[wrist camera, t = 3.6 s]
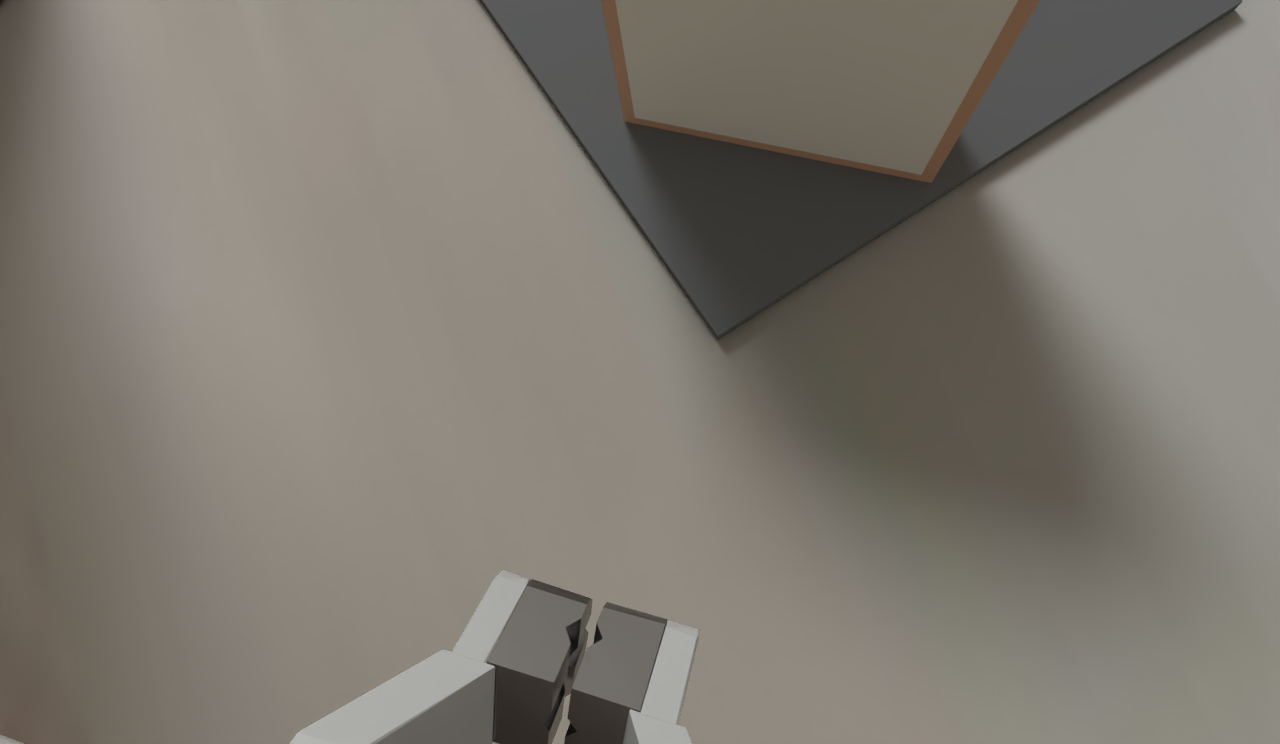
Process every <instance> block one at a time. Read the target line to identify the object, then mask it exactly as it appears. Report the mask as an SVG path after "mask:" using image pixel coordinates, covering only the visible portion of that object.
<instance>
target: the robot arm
mask: <svg viewBox="0 0 1280 744" xmlns="http://www.w3.org/2000/svg"><path fill="white" fill-rule="evenodd" d="M591 610H592V599H591V598H588V597H585V596H582V595H579V594H576V593H573V592H570V591H566V590H563V589H560V588H557V587H554V586H551V585H548V584H545V583H542V582H539V581H536V580H533V579H530V578H526V577H523V576H520V575H517V574H514V573H511V572H507V571H504V570H502V571H501V572H500V573H499V574H498V575H497V576H496V577H495V578H494V580H493V581H492V583H491V585H490V586H489V588H488V590H487V592H486V593H485V595H484V597H483V599H482V600H481V602H480V604H479V605H478V607H477V609H476V611H475V612H474V614H473V616H472V618H471V619H470V621H469V623H468V624H467V626H466V628H465V630H464V631H463V633H462V635H461V637H460V638H459V640H458V642H457V643H456V645H455V647H454V649H453V650H452V652H451V651H447V650H444V649H442V650H441V651H439V652H437V653H435V654H434V655H432V656H430V657H428V658H427V659H425V660H423V661H421V662H420V663H418V664H416V665H414V666H413V667H411V668H409V669H407V670H406V671H404V672H402V673H400V674H399V675H397V676H395V677H393V678H392V679H390V680H388V681H386V682H385V683H383V684H381V685H379V686H378V687H376V688H374V689H372V690H371V691H369V692H367V693H365V694H364V695H362V696H360V697H358V698H357V699H355V700H353V701H351V702H350V703H348V704H346V705H344V706H343V707H341V708H339V709H337V710H336V711H334V712H332V713H330V714H329V715H327V716H325V717H323V718H322V719H320V720H318V721H316V722H315V723H313V724H311V725H309V726H308V727H306V728H304V729H302V730H301V731H299V732H298V733H297V734H296V735H295V737H294V738H293V740H292V741H291V742H290V744H492V742H496V743H499V744H552V742H553V739H554V737H555V734H556V732H557V729H558V727H559V724H560V721H561V719H562V713H563V705H564V698H565V697H566V696H567V695H569V694H570V693H571V697H570V704H569V711H568V719H569V721H570V725H569V728H568V730H567V733H566V736H565V742H564V744H693V742H692V739H691V736H690V733H689V731H688V728H686V727H683V726H680V725H678V723H679V719H680V715H681V710H682V706H683V702H684V698H685V694H686V689H687V685H688V681H689V677H690V672H691V668H692V664H693V660H694V656H695V651H696V647H697V643H698V639H699V631H700V630H699V629H695V628H692V627H689V626H685V625H682V624H679V623H675V622H672V621H669V620H668V622H667V619H664V618H661V617H657V616H654V615H650V614H647V613H643V612H640V611H636V610H633V609H629V608H626V607H622V606H619V605H615V604H612V603H608V602H607V603H606V604H605V605H604V607H603V609H602V611H601V614H600V616H599V619H598V621H597V625H596V631H595V638H594V644H593V645H592V646H590V647H589V648H587V649H586V645H587V639H588V632H587V630H586V625H587V623H588V620H589V618H590V615H591ZM585 649H586V652H585ZM584 654H585V655H584ZM0 744H25V743H22V742H19V741H17V740H14V739H11V738H9V737H6V736H3V735H1V734H0Z"/></svg>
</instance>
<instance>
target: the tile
mask: <svg viewBox="0 0 1280 744" xmlns="http://www.w3.org/2000/svg"><path fill="white" fill-rule="evenodd" d="M1039 1H1040V0H601V3H602V8H603V13H604V18H605V23H606V29H607V34H608V39H609V44H610V49H611V55H612V60H613V65H614V70H615V75H616V81H617V86H618V91H619V96H620V101H621V107H622V112H623V117H624V121H625V122H630V123H635V124H640V125H645V126H650V127H655V128H660V129H664V130H669V131H674V132H679V133H684V134H689V135H694V136H699V137H704V138H709V139H714V140H719V141H724V142H729V143H734V144H739V145H744V146H749V147H754V148H759V149H764V150H769V151H774V152H779V153H784V154H789V155H794V156H799V157H804V158H809V159H814V160H819V161H824V162H829V163H834V164H839V165H844V166H849V167H854V168H859V169H864V170H869V171H874V172H879V173H884V174H889V175H894V176H899V177H904V178H909V179H914V180H918V181H923V182H928V183H932V181H933V180H934V178H935V176H936V175H937V173H938V171H939V170H940V168H941V166H942V165H943V163H944V161H945V160H946V158H947V156H948V155H949V153H950V151H951V149H952V148H953V146H954V144H955V143H956V141H957V139H958V138H959V136H960V134H961V133H962V131H963V129H964V128H965V126H966V124H967V123H968V121H969V119H970V117H971V116H972V114H973V112H974V111H975V109H976V107H977V106H978V104H979V102H980V101H981V99H982V97H983V96H984V94H985V92H986V91H987V89H988V87H989V85H990V84H991V82H992V80H993V79H994V77H995V75H996V74H997V72H998V70H999V69H1000V67H1001V65H1002V64H1003V62H1004V60H1005V59H1006V57H1007V55H1008V53H1009V52H1010V50H1011V48H1012V47H1013V45H1014V43H1015V42H1016V40H1017V38H1018V37H1019V35H1020V33H1021V32H1022V30H1023V28H1024V27H1025V25H1026V23H1027V21H1028V20H1029V18H1030V16H1031V15H1032V13H1033V11H1034V10H1035V8H1036V6H1037V5H1038V3H1039Z"/></svg>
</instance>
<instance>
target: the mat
mask: <svg viewBox="0 0 1280 744" xmlns="http://www.w3.org/2000/svg"><path fill="white" fill-rule="evenodd" d="M481 2H482V3H483V5H484V6H485V8H486V9H487V10H488V12H489V13H490V15H491V16H492V18H493V19H494V20H495V22H496V23H497V25H498V26H499V28H500V29H501V30H502V32H503V33H504V35H505V36H506V38H507V39H508V40H509V42H510V43H511V45H512V46H513V48H514V49H515V50H516V52H517V53H518V55H519V56H520V58H521V59H522V60H523V62H524V63H525V65H526V66H527V68H528V69H529V70H530V72H531V73H532V75H533V76H534V78H535V79H536V80H537V82H538V83H539V85H540V86H541V88H542V89H543V90H544V92H545V93H546V95H547V96H548V98H549V99H550V100H551V102H552V103H553V105H554V106H555V108H556V109H557V110H558V112H559V113H560V115H561V116H562V118H563V119H564V120H565V122H566V123H567V125H568V126H569V128H570V129H571V130H572V132H573V133H574V135H575V136H576V138H577V139H578V140H579V142H580V143H581V145H582V146H583V148H584V149H585V150H586V152H587V153H588V155H589V156H590V158H591V159H592V160H593V162H594V163H595V165H596V166H597V168H598V169H599V170H600V172H601V173H602V175H603V176H604V177H605V179H606V180H607V182H608V183H609V185H610V186H611V187H612V189H613V190H614V192H615V193H616V195H617V196H618V197H619V199H620V200H621V202H622V203H623V205H624V206H625V207H626V209H627V210H628V212H629V213H630V215H631V216H632V217H633V219H634V220H635V222H636V223H637V225H638V226H639V227H640V229H641V230H642V232H643V233H644V235H645V236H646V237H647V239H648V240H649V242H650V243H651V245H652V246H653V247H654V249H655V250H656V252H657V253H658V255H659V256H660V257H661V259H662V260H663V262H664V263H665V265H666V266H667V267H668V269H669V270H670V272H671V273H672V275H673V276H674V277H675V279H676V280H677V282H678V283H679V285H680V286H681V287H682V289H683V290H684V292H685V293H686V295H687V296H688V297H689V299H690V300H691V302H692V303H693V305H694V306H695V307H696V309H697V310H698V312H699V313H700V315H701V316H702V317H703V319H704V320H705V322H706V323H707V325H708V326H709V327H710V329H711V330H712V332H713V333H714V335H715V336H716V337H717V339H719V338H720V337H722V336H723V335H725V334H727V333H728V332H730V331H731V330H733V329H734V328H736V327H738V326H739V325H741V324H742V323H744V322H745V321H747V320H749V319H750V318H752V317H753V316H755V315H756V314H758V313H760V312H761V311H763V310H764V309H766V308H767V307H769V306H770V305H772V304H774V303H775V302H777V301H778V300H780V299H781V298H783V297H785V296H786V295H788V294H789V293H791V292H792V291H794V290H796V289H797V288H799V287H800V286H802V285H803V284H805V283H807V282H808V281H810V280H811V279H813V278H814V277H816V276H817V275H819V274H821V273H822V272H824V271H825V270H827V269H828V268H830V267H832V266H833V265H835V264H836V263H838V262H839V261H841V260H843V259H844V258H846V257H847V256H849V255H850V254H852V253H853V252H855V251H857V250H858V249H860V248H861V247H863V246H864V245H866V244H868V243H869V242H871V241H872V240H874V239H875V238H877V237H879V236H880V235H882V234H883V233H885V232H886V231H888V230H890V229H891V228H893V227H894V226H896V225H897V224H899V223H900V222H902V221H904V220H905V219H907V218H908V217H910V216H911V215H913V214H915V213H916V212H918V211H919V210H921V209H922V208H924V207H926V206H927V205H929V204H930V203H932V202H933V201H935V200H937V199H938V198H940V197H941V196H943V195H944V194H946V193H947V192H949V191H951V190H952V189H954V188H955V187H957V186H958V185H960V184H962V183H963V182H965V181H966V180H968V179H969V178H971V177H973V176H974V175H976V174H977V173H979V172H980V171H982V170H984V169H985V168H987V167H988V166H990V165H991V164H993V163H994V162H996V161H998V160H999V159H1001V158H1002V157H1004V156H1005V155H1007V154H1009V153H1010V152H1012V151H1013V150H1015V149H1016V148H1018V147H1020V146H1021V145H1023V144H1024V143H1026V142H1027V141H1029V140H1031V139H1032V138H1034V137H1035V136H1037V135H1038V134H1040V133H1041V132H1043V131H1045V130H1046V129H1048V128H1049V127H1051V126H1052V125H1054V124H1056V123H1057V122H1059V121H1060V120H1062V119H1063V118H1065V117H1067V116H1068V115H1070V114H1071V113H1073V112H1074V111H1076V110H1078V109H1079V108H1081V107H1082V106H1084V105H1085V104H1087V103H1088V102H1090V101H1092V100H1093V99H1095V98H1096V97H1098V96H1099V95H1101V94H1103V93H1104V92H1106V91H1107V90H1109V89H1110V88H1112V87H1114V86H1115V85H1117V84H1118V83H1120V82H1121V81H1123V80H1124V79H1126V78H1128V77H1129V76H1131V75H1132V74H1134V73H1135V72H1137V71H1139V70H1140V69H1142V68H1143V67H1145V66H1146V65H1148V64H1150V63H1151V62H1153V61H1154V60H1156V59H1157V58H1159V57H1161V56H1162V55H1164V54H1165V53H1167V52H1168V51H1170V50H1171V49H1173V48H1175V47H1176V46H1178V45H1179V44H1181V43H1182V42H1184V41H1186V40H1187V39H1189V38H1190V37H1192V36H1193V35H1195V34H1197V33H1198V32H1200V31H1201V30H1203V29H1204V28H1206V27H1208V26H1209V25H1211V24H1212V23H1214V22H1215V21H1217V20H1218V19H1220V18H1222V17H1223V16H1225V15H1226V14H1228V13H1229V12H1231V11H1233V10H1234V9H1236V8H1237V7H1238V6H1239V4H1240V3H1241V2H1242V0H1040V1H1039V3H1038V5H1037V6H1036V8H1035V10H1034V11H1033V13H1032V15H1031V16H1030V18H1029V20H1028V21H1027V23H1026V25H1025V27H1024V28H1023V30H1022V32H1021V33H1020V35H1019V37H1018V38H1017V40H1016V42H1015V43H1014V45H1013V47H1012V48H1011V50H1010V52H1009V53H1008V55H1007V57H1006V59H1005V60H1004V62H1003V64H1002V65H1001V67H1000V69H999V70H998V72H997V74H996V75H995V77H994V79H993V80H992V82H991V84H990V85H989V87H988V89H987V91H986V92H985V94H984V96H983V97H982V99H981V101H980V102H979V104H978V106H977V107H976V109H975V111H974V112H973V114H972V116H971V117H970V119H969V121H968V123H967V124H966V126H965V128H964V129H963V131H962V133H961V134H960V136H959V138H958V139H957V141H956V143H955V144H954V146H953V148H952V149H951V151H950V153H949V155H948V156H947V158H946V160H945V161H944V163H943V165H942V166H941V168H940V170H939V171H938V173H937V175H936V176H935V178H934V180H933V181H932V183H928V182H923V181H918V180H914V179H909V178H904V177H899V176H894V175H889V174H884V173H879V172H874V171H869V170H864V169H859V168H854V167H849V166H844V165H839V164H834V163H829V162H824V161H819V160H814V159H809V158H804V157H799V156H794V155H789V154H784V153H779V152H774V151H769V150H764V149H759V148H754V147H749V146H744V145H739V144H734V143H729V142H724V141H719V140H714V139H709V138H704V137H699V136H694V135H689V134H684V133H679V132H674V131H669V130H664V129H660V128H655V127H650V126H645V125H640V124H635V123H630V122H625V121H624V117H623V112H622V107H621V101H620V96H619V91H618V86H617V81H616V75H615V70H614V65H613V60H612V55H611V49H610V44H609V39H608V34H607V29H606V23H605V18H604V13H603V8H602V3H601V0H481Z"/></svg>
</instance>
